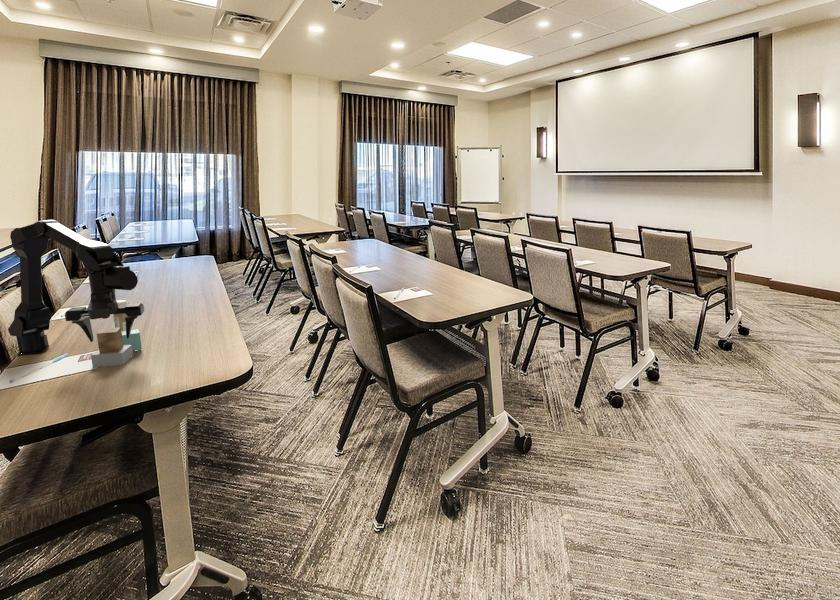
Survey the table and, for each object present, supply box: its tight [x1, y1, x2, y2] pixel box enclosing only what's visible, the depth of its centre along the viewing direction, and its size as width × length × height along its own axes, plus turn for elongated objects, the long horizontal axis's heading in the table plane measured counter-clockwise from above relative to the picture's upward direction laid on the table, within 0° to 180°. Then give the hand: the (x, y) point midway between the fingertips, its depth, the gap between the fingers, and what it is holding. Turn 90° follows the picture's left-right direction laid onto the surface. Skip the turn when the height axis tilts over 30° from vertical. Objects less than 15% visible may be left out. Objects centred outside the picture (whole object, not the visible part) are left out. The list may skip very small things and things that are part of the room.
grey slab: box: [90, 345, 134, 368], centre depth 140 cm, size 8×8×4 cm
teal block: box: [121, 328, 143, 351], centre depth 150 cm, size 5×5×6 cm
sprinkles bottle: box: [112, 299, 128, 331], centre depth 160 cm, size 5×5×13 cm
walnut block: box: [96, 327, 123, 353], centre depth 139 cm, size 5×5×6 cm
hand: (110, 339), depth 139 cm, fingers open, 9 cm apart
